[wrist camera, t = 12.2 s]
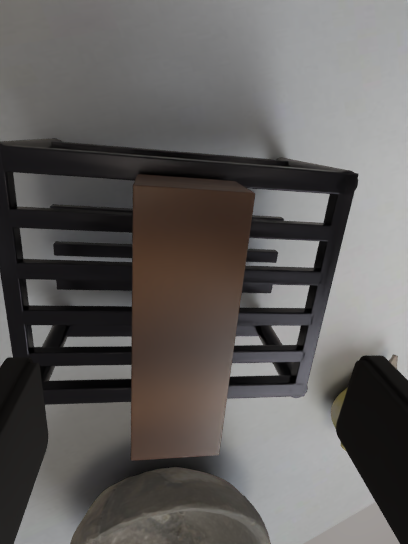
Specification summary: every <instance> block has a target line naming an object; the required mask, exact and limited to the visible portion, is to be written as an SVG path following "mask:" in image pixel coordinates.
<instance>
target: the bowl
mask: <svg viewBox="0 0 408 544" xmlns="http://www.w3.org/2000/svg"><path fill="white" fill-rule="evenodd" d="M70 544H271V543H270V539H269V536H268V532H267V529H266V527H265V524H264V522H263V520H262V518H261V517H260V515H259V514H258V512H257V511H256V509H255V508H254V506H253V505H252V504H251V503H250V502H249V501H248V500H247V498H246V497H245V496H243V495H242V494H241V493H240V492H239V491H238V490H237V489H236V488H235V487H234V486H233V485H232V484H230V483H229V482H227V481H225V480H223V479H221V478H219V477H216V476H214V475H211V474H209V473H205V472H201V471H196V470H191V469H186V468H180V467H172V468H161V469H155V470H153V471H147V472H144V473H142V474H140V475H136V476H133V477H127V478H126V479H124V480H122V481H120V482H118V483H116V484H114V485H112V486H110V487H108V488H107V489H106V490H105V491H103V492H102V493H101V494H100V495H99V497H98V498H97V499H96V500H95V501H94V503H93V504H92V505H91V507H90V508H89V510H88V512H87V513H86V515H85V516H84V518H83V520H82V521H81V523H80V524H79V526H78V527H77V529H76V531H75V533H74V535H73V537H72V540H71V543H70Z"/></svg>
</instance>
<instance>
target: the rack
mask: <svg viewBox="0 0 408 544" xmlns="http://www.w3.org/2000/svg"><path fill="white" fill-rule="evenodd" d="M13 172H19V173H34V174H49V175H63V176H78V177H92V178H107V179H122V180H135V179H136V177H137V175H138V174H143V175H156V176H170V177H184V178H198V179H212V180H226V181H235V182H237V183H239V184H240V185H242V186H244V187H246V188H253V189H268V190H282V191H297V192H311V193H326V194H330V196H329V200H328V205H327V210H326V214H325V219H324V223H315V222H296V221H284V219H283V218H282V217H273V216H255V215H252V221H251V228H250V236H249V238H264V239H286V240H309V241H320V242H319V246H318V251H317V255H316V260H315V264H314V268H302V267H269V266H245V272H244V279H243V286H242V293H271V290H272V285H273V284H276V285H310V287H309V292H308V296H307V301H306V305H305V308H239V315H238V322H237V329H236V336H259V338H260V339H261V341H262V343H263V345H249V346H234V351H233V358H232V363H262V362H272V363H273V364H274V366H275V368H276V370H277V372H278V374H279V376H238V377H230V379H229V387H228V394H227V398H256V397H286V396H291V397H294V398H298V397H301V396H304V395H305V393H306V392H307V389H308V387H307V383H308V379H309V375H310V370H311V366H312V362H313V358H314V354H315V350H316V346H317V342H318V338H319V334H320V330H321V325H322V321H323V317H324V313H325V309H326V305H327V301H328V297H329V293H330V289H331V285H332V281H333V276H334V272H335V268H336V264H337V260H338V256H339V252H340V248H341V244H342V240H343V236H344V231H345V227H346V223H347V219H348V215H349V211H350V207H351V203H352V199H353V195H354V191H355V189H356V188H357V185H358V174H357V173H354V172H352V171H349V170H344V169H339V168H333V167H328V166H323V165H318V164H313V163H307V162H302V161H297V160H292V159H287V158H278V159H276V160H274V159H262V158H250V157H238V156H226V155H214V154H202V153H190V152H178V151H166V150H154V149H142V148H130V147H118V146H106V145H94V144H82V143H70V142H62V141H61V140H59V139H56V138H52V139H34V140H16V141H0V273H1V280H2V287H3V293H4V300H5V307H6V314H7V320H8V327H9V334H10V341H11V347H12V354H13V358H16V357H30V358H32V360H33V363H39V365H40V371H41V379H42V388H43V396H44V404H45V405H47V404H77V403H107V402H131V379H108V380H65V381H49V379H50V377H51V375H52V372H53V370H54V368H55V366H80V365H132V346H126V347H63V346H64V344H65V341H66V339H67V337H97V336H132V307H127V306H30V305H29V302H28V294H27V286H26V279H48V280H56V283H57V289H66V290H123V291H132V262H106V261H74V260H41V259H23V252H22V244H21V235H20V228H38V229H61V230H83V231H106V232H128V233H132V231H133V209H128V208H110V207H92V206H74V205H56V204H53V205H51V206H50V208H35V207H17V202H16V193H15V185H14V177H13ZM53 246H54V255H57V256H88V257H118V258H132V244H110V243H84V242H59V241H56V242H55V243H54V244H53ZM277 255H278V252H277V251H276V250H264V249H248V250H247V257H246V262H271V263H276V261H277ZM31 325H53V326H52V328H51V330H50V332H49V334H48V336H47V338H46V340H45V342H44V344H43V346H42V347H34V344H33V336H32V328H31ZM272 325H301V328H300V333H299V337H298V342H297V345H282V343H281V342H280V340H279V338H278V337H277V335H276V333H275V332H274V330H273V329H272V327H271V326H272Z"/></svg>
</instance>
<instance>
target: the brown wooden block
mask: <svg viewBox="0 0 408 544" xmlns="http://www.w3.org/2000/svg"><path fill="white" fill-rule="evenodd" d="M254 200H255V193H254V192H252V191H251V190H249V189H247V188H246V187H244V186H242V185H240V184H239V183H237V182H235V181H226V180H212V179H198V178H184V177H170V176H156V175H143V174H138V175H137V177H136V179H135V182H134V184H133V231H132V369H131V460H132V461H133V460H149V459H166V458H182V457H199V456H215V455H219V451H220V444H221V437H222V430H223V423H224V415H225V408H226V401H227V394H228V387H229V379H230V372H231V365H232V358H233V351H234V343H235V336H236V329H237V322H238V315H239V307H240V300H241V293H242V286H243V279H244V272H245V264H246V257H247V250H248V243H249V236H250V228H251V221H252V214H253V207H254Z"/></svg>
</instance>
